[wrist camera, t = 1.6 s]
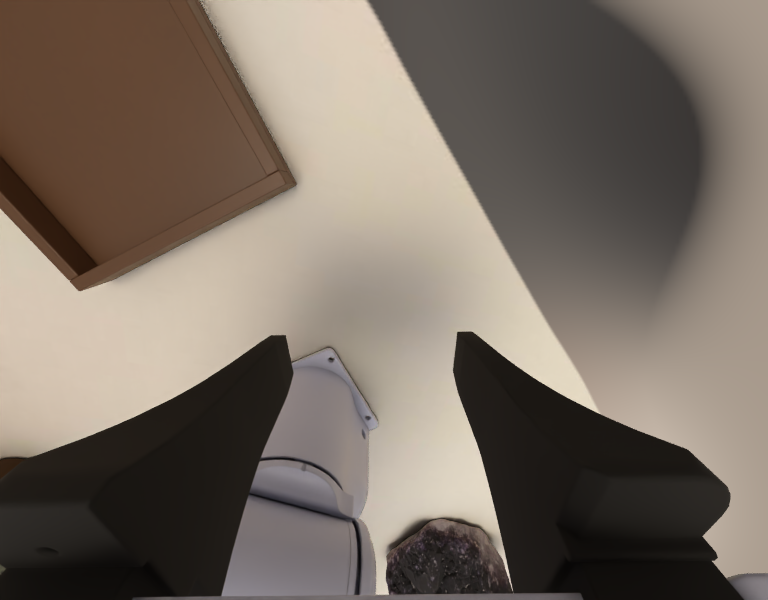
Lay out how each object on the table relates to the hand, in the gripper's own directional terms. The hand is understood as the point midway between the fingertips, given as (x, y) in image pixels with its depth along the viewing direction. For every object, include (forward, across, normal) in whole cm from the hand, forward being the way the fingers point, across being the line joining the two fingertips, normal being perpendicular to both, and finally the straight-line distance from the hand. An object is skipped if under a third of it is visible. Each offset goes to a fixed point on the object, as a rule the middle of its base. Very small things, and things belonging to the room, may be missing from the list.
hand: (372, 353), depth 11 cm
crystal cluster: (+8, -7, +36) cm, 38 cm away
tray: (+10, +16, -12) cm, 22 cm away
